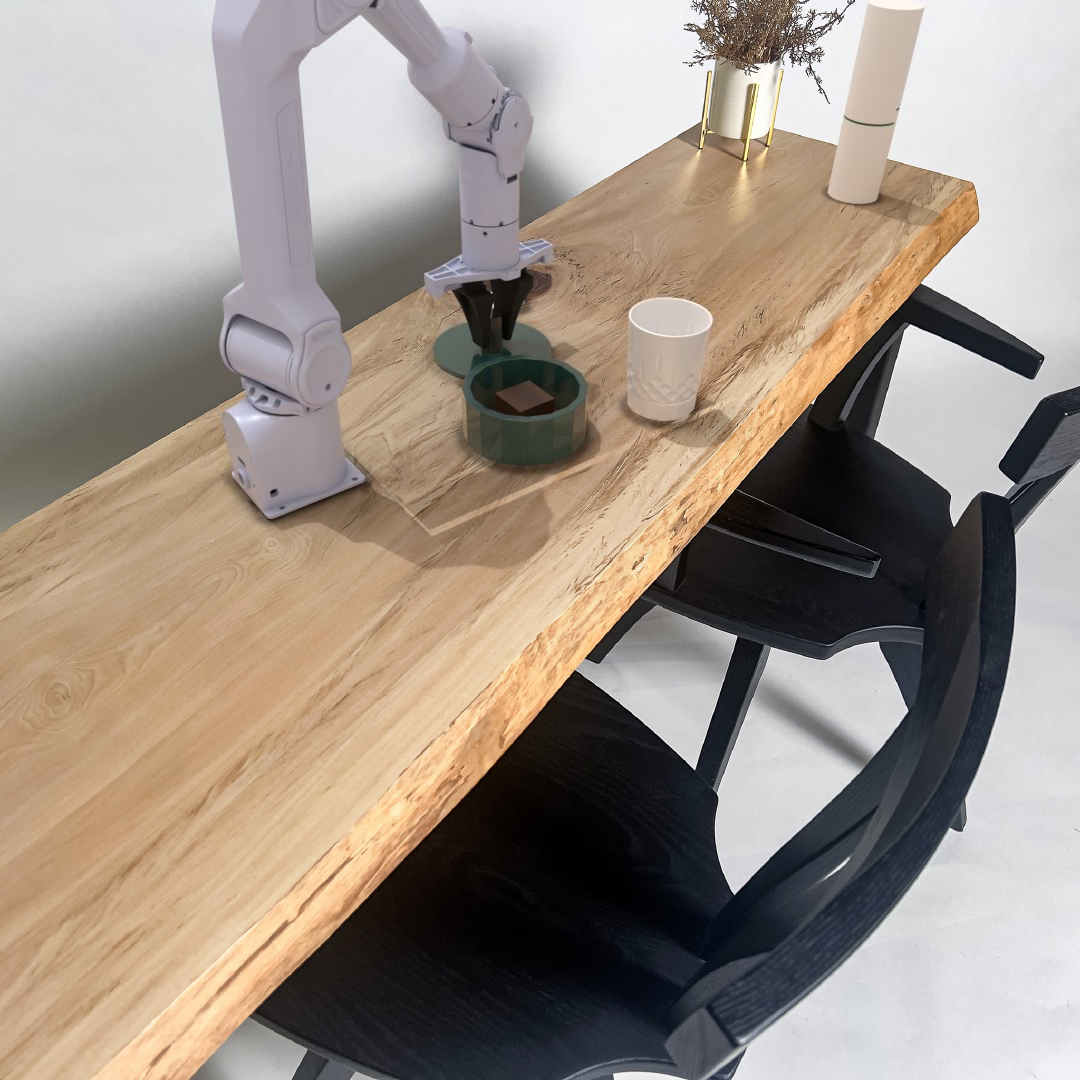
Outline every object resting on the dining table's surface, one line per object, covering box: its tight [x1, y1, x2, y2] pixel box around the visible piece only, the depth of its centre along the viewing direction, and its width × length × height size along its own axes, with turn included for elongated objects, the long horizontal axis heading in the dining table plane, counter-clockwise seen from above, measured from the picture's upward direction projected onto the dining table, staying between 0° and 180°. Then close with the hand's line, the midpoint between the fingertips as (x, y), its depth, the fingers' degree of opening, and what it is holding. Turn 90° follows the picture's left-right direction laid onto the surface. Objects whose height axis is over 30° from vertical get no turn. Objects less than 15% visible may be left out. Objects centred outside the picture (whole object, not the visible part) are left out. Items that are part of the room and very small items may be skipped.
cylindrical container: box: [827, 0, 926, 205], centre depth 134 cm, size 7×7×25 cm
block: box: [494, 380, 555, 417], centre depth 92 cm, size 4×4×4 cm
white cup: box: [626, 296, 714, 425], centre depth 94 cm, size 8×8×10 cm
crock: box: [460, 354, 589, 467], centre depth 91 cm, size 12×12×5 cm
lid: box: [432, 308, 552, 380], centre depth 103 cm, size 13×13×5 cm
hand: (491, 340), depth 103 cm, fingers closed on lid, 2 cm apart
